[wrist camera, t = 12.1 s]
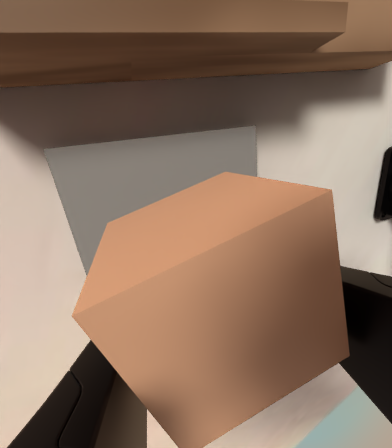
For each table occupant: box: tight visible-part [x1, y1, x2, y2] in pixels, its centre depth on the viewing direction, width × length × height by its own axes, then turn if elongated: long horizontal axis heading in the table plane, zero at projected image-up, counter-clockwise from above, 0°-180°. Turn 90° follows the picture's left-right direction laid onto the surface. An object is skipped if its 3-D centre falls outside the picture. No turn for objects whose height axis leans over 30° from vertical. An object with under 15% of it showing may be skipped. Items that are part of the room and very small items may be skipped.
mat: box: [43, 125, 257, 275], centre depth 14 cm, size 12×12×1 cm
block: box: [72, 172, 350, 448], centre depth 7 cm, size 5×5×5 cm
